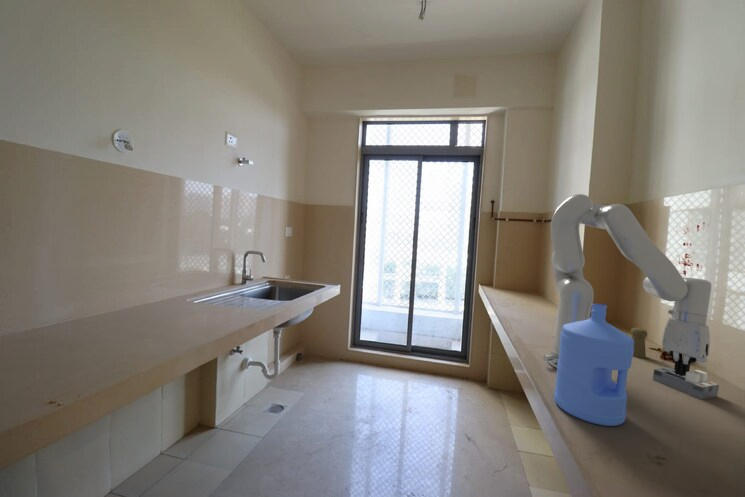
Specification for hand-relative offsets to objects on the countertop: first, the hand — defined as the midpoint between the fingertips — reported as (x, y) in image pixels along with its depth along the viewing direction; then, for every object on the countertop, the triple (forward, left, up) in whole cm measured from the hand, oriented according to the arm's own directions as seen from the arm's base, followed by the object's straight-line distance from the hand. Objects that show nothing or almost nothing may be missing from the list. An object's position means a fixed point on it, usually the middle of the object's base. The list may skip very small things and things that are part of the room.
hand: (681, 374), depth 101 cm
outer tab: (+4, -3, -2) cm, 6 cm away
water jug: (-44, -3, -5) cm, 44 cm away
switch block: (+2, 0, -5) cm, 5 cm away
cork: (+18, +23, -5) cm, 30 cm away
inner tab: (0, -3, -2) cm, 4 cm away
